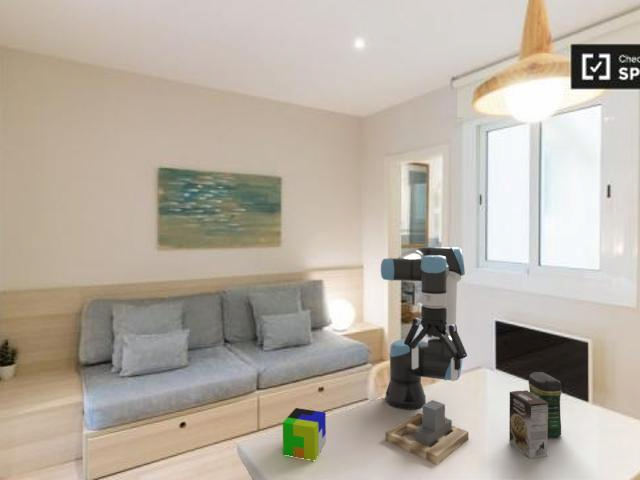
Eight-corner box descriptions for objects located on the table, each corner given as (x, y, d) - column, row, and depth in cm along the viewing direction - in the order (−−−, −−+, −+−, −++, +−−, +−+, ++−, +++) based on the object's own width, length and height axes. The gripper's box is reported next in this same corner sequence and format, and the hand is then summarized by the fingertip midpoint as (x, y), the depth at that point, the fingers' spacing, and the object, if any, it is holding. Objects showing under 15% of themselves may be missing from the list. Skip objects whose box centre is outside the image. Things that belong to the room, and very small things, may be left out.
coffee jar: (566, 438, 125) (566, 380, 125) (542, 439, 125) (542, 381, 124) (546, 423, 135) (547, 369, 134) (524, 424, 135) (524, 370, 134)
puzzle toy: (325, 443, 124) (325, 412, 123) (314, 461, 114) (314, 427, 114) (296, 438, 127) (295, 407, 127) (283, 455, 118) (282, 422, 117)
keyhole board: (385, 440, 125) (385, 432, 125) (418, 419, 138) (418, 412, 138) (436, 464, 112) (436, 455, 112) (468, 439, 125) (468, 431, 125)
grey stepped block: (415, 447, 120) (415, 409, 120) (439, 430, 130) (439, 396, 130) (427, 453, 117) (427, 414, 117) (451, 435, 127) (451, 400, 126)
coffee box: (508, 442, 123) (508, 391, 123) (526, 440, 125) (526, 389, 124) (529, 459, 114) (529, 404, 114) (548, 456, 116) (549, 401, 115)
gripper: (393, 302, 129) (393, 366, 130) (466, 314, 111) (466, 389, 112) (406, 298, 134) (406, 360, 135) (478, 309, 116) (478, 381, 117)
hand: (434, 373), depth 123 cm, fingers open, 13 cm apart
